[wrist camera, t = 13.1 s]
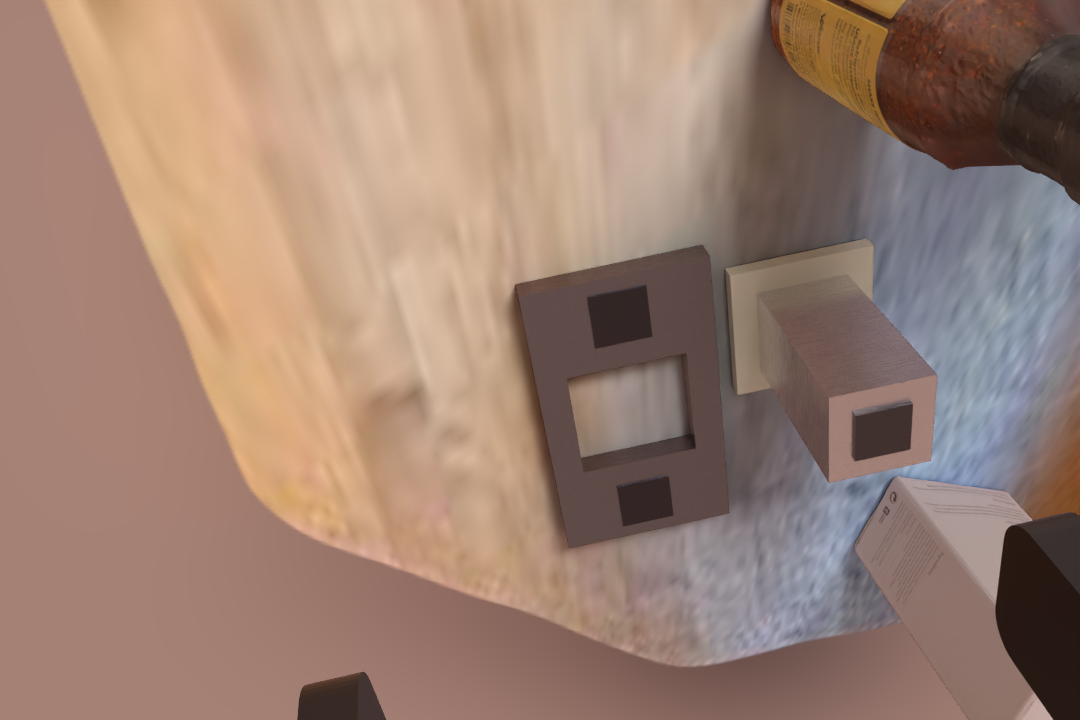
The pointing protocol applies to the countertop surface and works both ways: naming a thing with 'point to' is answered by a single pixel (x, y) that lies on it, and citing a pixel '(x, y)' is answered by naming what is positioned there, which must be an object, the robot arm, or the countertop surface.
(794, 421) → the square post
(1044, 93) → the sauce bottle
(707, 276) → the rectangular plate with hole
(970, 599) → the skincare box
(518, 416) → the countertop surface
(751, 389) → the pad
